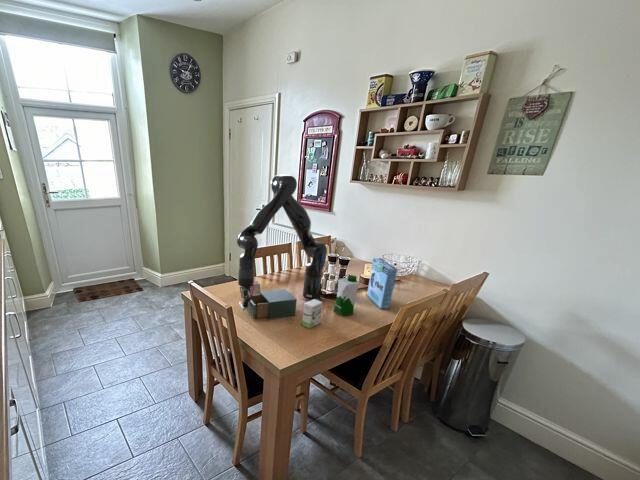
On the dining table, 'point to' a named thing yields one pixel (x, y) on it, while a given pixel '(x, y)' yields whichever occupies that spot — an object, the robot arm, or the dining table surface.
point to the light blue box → (381, 283)
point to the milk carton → (346, 295)
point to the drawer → (257, 306)
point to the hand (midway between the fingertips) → (245, 307)
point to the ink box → (312, 313)
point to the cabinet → (280, 303)
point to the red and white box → (255, 288)
